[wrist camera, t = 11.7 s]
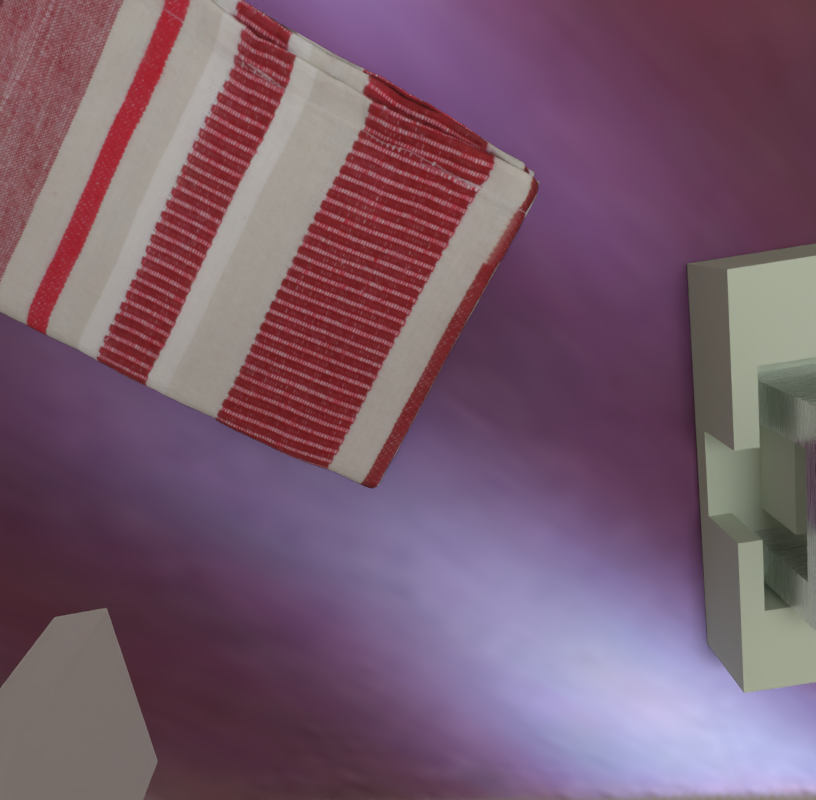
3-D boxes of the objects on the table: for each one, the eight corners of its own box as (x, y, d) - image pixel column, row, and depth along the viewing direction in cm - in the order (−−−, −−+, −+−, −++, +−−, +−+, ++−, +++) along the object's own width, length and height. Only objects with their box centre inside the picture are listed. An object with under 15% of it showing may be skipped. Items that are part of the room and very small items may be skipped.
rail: (847, 623, 37) (900, 670, 33) (707, 643, 37) (743, 692, 33) (848, 238, 32) (910, 240, 28) (686, 263, 32) (727, 269, 28)
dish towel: (53, -109, 29) (19, -141, 26) (545, 177, 32) (559, 173, 29) (-84, 263, 32) (-125, 267, 30) (372, 488, 35) (371, 509, 33)
